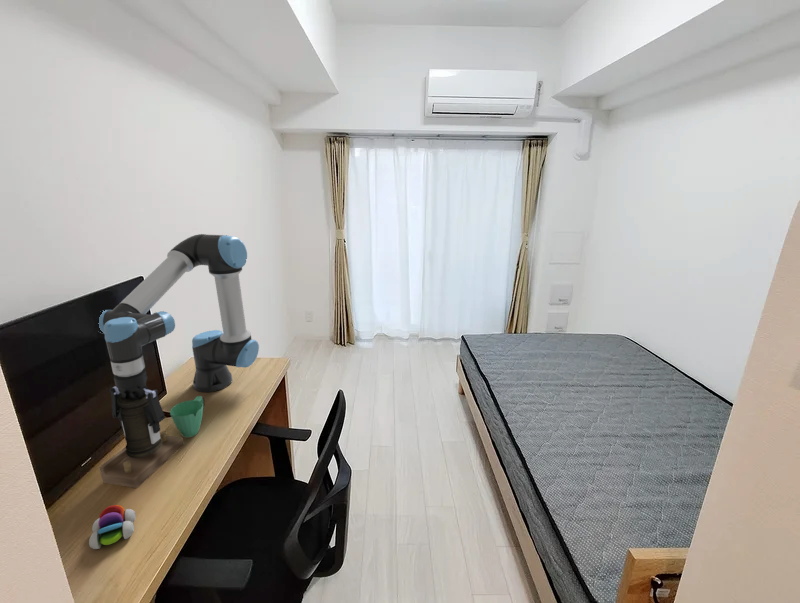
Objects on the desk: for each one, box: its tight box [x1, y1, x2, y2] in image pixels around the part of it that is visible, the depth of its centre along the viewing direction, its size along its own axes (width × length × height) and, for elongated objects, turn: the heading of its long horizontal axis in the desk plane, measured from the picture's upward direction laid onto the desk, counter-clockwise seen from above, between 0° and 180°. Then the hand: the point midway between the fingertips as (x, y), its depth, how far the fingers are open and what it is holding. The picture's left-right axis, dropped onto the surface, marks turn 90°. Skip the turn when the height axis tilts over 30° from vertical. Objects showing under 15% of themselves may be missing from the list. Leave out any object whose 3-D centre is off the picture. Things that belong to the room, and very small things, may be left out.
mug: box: [169, 395, 205, 438], centre depth 133 cm, size 15×10×10 cm
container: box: [117, 395, 162, 458], centre depth 113 cm, size 9×9×18 cm
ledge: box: [99, 430, 184, 489], centre depth 117 cm, size 19×11×6 cm, turn 171°
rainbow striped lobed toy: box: [88, 504, 136, 550], centre depth 93 cm, size 8×10×7 cm
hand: (143, 439), depth 115 cm, fingers closed on container, 8 cm apart
